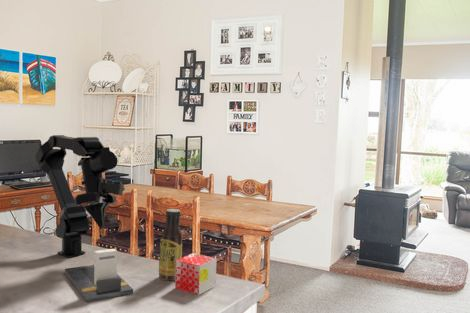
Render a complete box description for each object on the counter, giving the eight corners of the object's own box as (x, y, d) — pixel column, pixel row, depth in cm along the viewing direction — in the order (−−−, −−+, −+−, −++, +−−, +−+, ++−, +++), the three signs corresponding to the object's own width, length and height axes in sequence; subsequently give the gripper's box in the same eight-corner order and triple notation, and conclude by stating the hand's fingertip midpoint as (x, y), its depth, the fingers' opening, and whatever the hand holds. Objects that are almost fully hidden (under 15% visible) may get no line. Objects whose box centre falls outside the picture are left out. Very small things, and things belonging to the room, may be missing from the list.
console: (64, 272, 137) (64, 258, 137) (105, 267, 144) (105, 253, 143) (86, 301, 117) (86, 285, 117) (133, 293, 123) (133, 277, 123)
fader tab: (93, 286, 123) (94, 250, 123) (113, 282, 126) (114, 248, 125) (96, 289, 121) (97, 253, 120) (116, 286, 124) (117, 251, 123)
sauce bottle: (154, 279, 135) (155, 210, 133) (167, 273, 140) (168, 206, 138) (173, 283, 132) (174, 213, 130) (185, 277, 137) (187, 209, 135)
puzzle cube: (198, 295, 124) (199, 265, 124) (175, 288, 128) (175, 259, 128) (215, 286, 131) (216, 258, 130) (192, 280, 135) (193, 253, 135)
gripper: (107, 168, 135) (117, 222, 133) (127, 173, 154) (136, 221, 152) (70, 176, 136) (79, 230, 134) (94, 181, 154) (102, 228, 152)
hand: (101, 227), depth 143 cm, fingers closed
